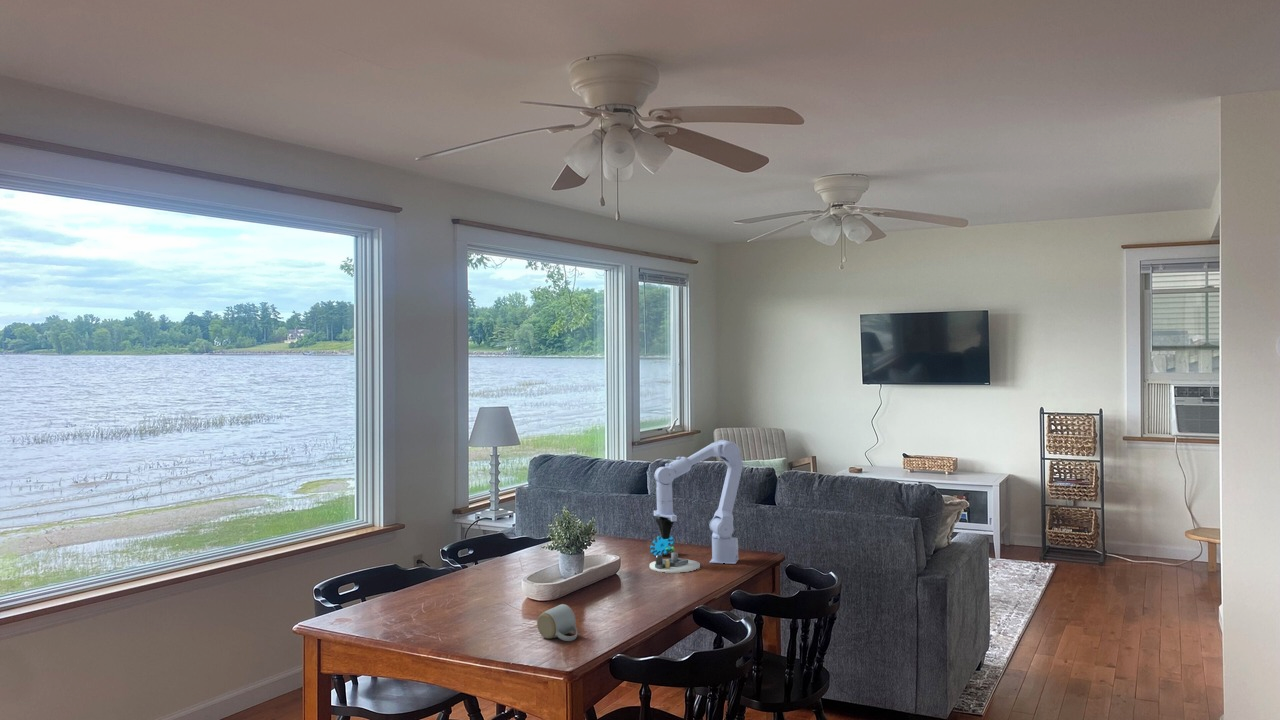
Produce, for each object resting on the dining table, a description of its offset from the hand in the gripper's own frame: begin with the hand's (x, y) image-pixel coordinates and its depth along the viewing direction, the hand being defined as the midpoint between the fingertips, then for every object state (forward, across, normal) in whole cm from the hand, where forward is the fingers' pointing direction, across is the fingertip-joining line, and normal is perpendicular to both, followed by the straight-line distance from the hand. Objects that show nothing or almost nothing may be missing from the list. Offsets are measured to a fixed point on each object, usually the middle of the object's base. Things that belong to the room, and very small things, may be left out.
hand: (665, 538), depth 312 cm
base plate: (+10, +4, +2) cm, 11 cm away
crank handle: (+8, +4, -1) cm, 10 cm away
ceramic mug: (+10, +59, -62) cm, 86 cm away
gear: (+10, -16, +7) cm, 20 cm away
